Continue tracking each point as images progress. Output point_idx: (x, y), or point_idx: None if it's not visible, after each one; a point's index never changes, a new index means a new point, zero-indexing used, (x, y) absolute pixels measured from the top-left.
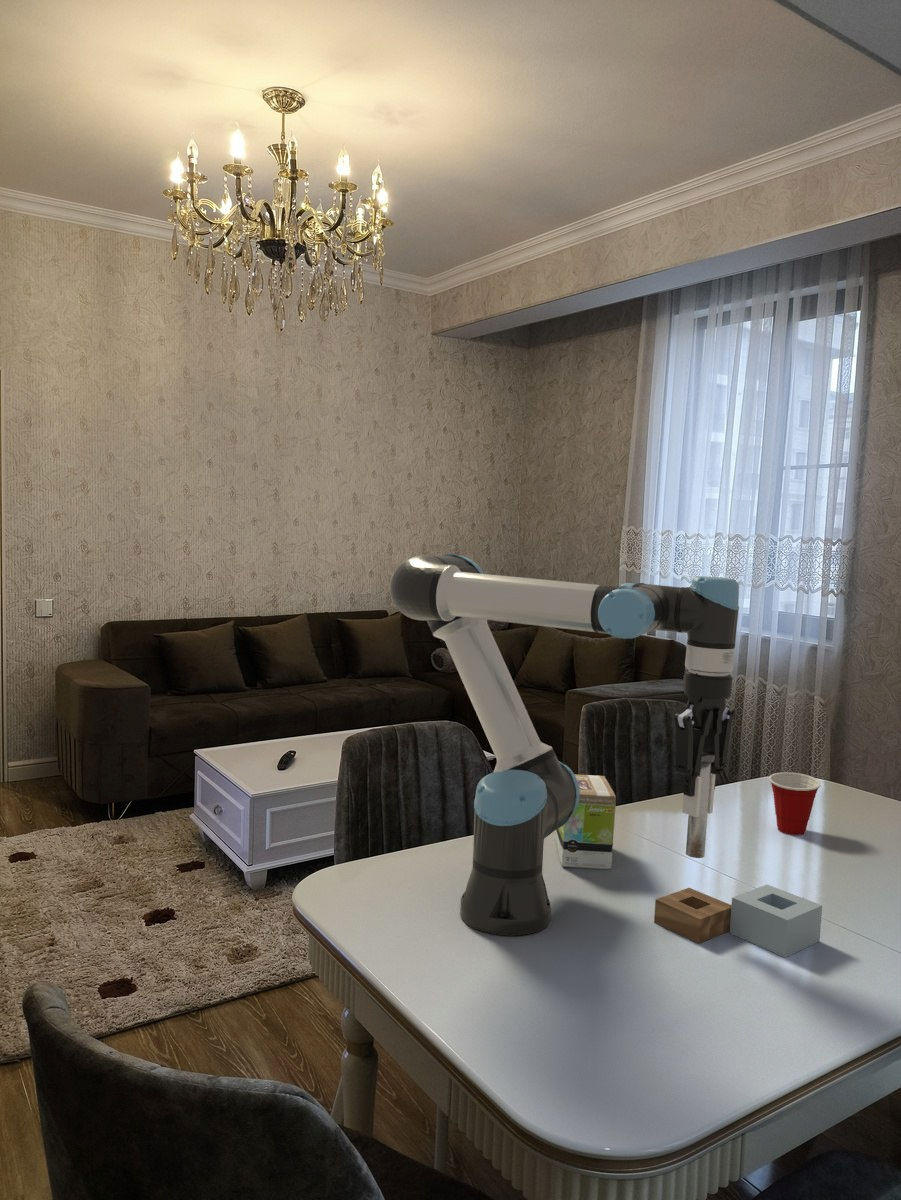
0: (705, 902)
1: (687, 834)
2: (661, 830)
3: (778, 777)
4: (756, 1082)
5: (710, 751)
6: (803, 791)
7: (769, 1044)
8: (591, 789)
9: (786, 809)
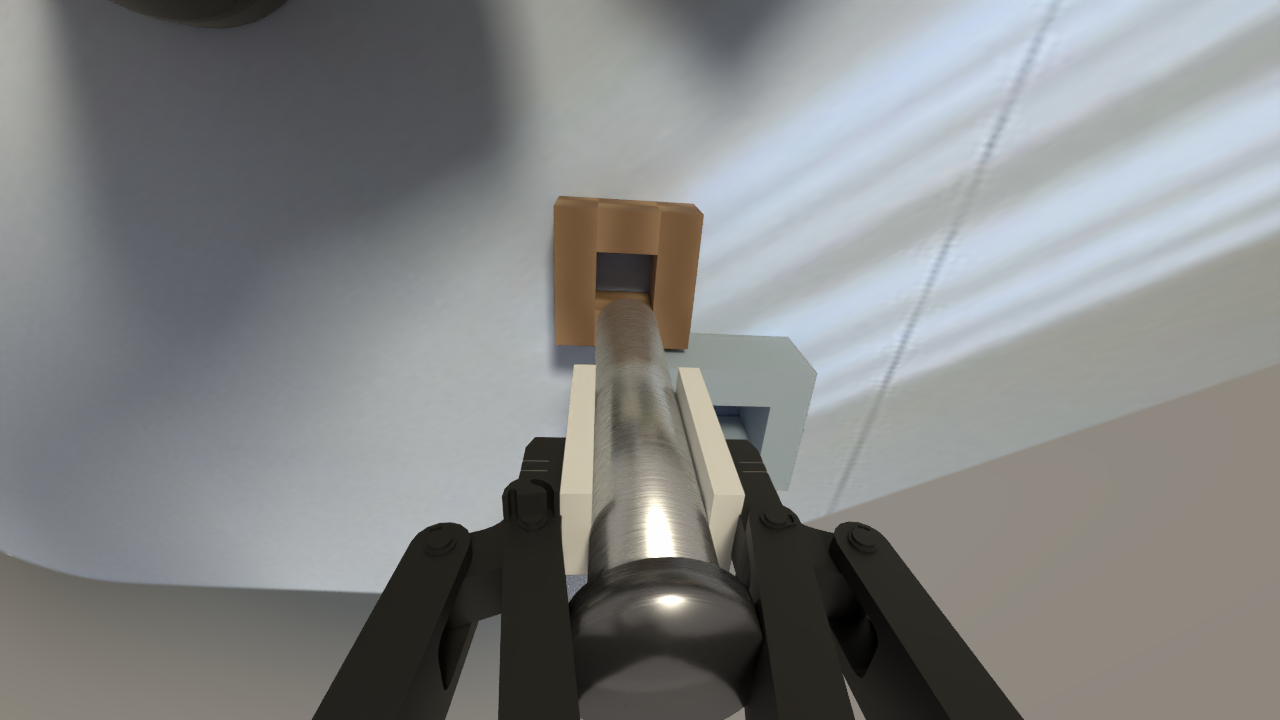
0: (654, 295)
1: (602, 337)
2: None
3: None
4: (297, 574)
5: (753, 699)
6: None
7: (385, 545)
8: None
9: None
